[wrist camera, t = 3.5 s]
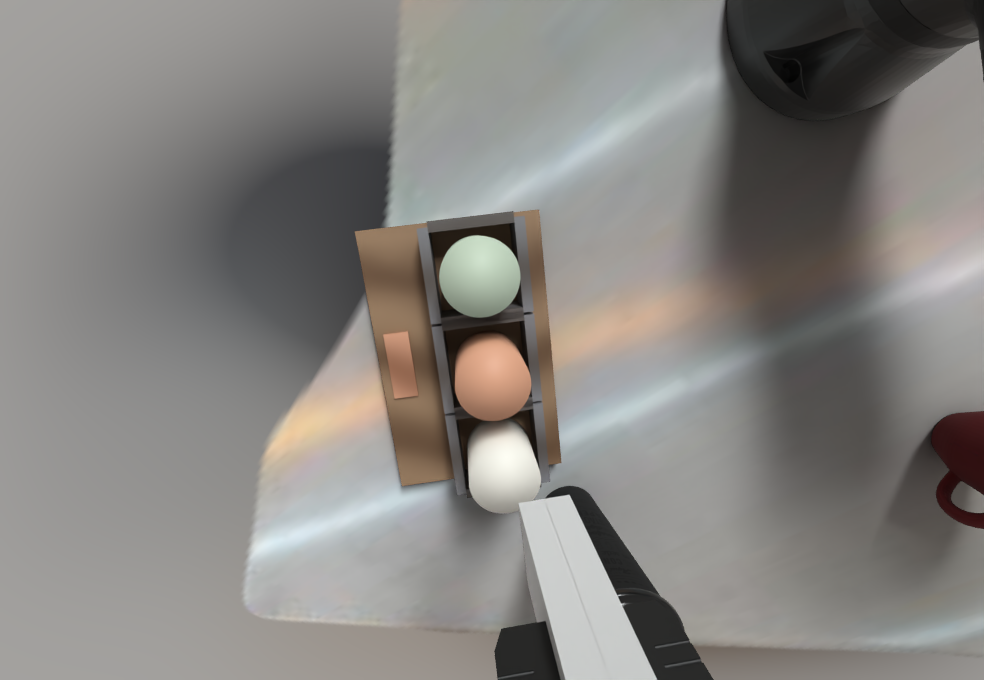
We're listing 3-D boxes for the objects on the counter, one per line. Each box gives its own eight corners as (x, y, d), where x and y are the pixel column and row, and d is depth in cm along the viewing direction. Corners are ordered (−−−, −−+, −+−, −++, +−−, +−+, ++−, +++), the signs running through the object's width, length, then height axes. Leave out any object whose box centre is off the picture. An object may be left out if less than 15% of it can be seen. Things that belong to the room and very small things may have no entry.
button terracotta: (451, 335, 31) (450, 353, 27) (516, 326, 32) (527, 343, 27) (459, 396, 32) (460, 426, 28) (523, 388, 33) (534, 415, 28)
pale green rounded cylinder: (437, 239, 30) (433, 241, 25) (506, 231, 30) (516, 231, 25) (447, 308, 31) (445, 322, 26) (513, 299, 31) (524, 312, 26)
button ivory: (463, 421, 33) (464, 454, 28) (525, 412, 33) (537, 443, 28) (471, 477, 34) (473, 518, 29) (531, 468, 34) (544, 508, 29)
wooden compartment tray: (359, 231, 33) (344, 231, 29) (535, 210, 34) (547, 207, 29) (404, 476, 38) (397, 508, 33) (557, 454, 38) (570, 482, 34)
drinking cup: (569, 453, 38) (683, 679, 19) (627, 506, 40) (787, 765, 21) (506, 513, 39) (553, 787, 20) (565, 562, 41) (663, 860, 22)
